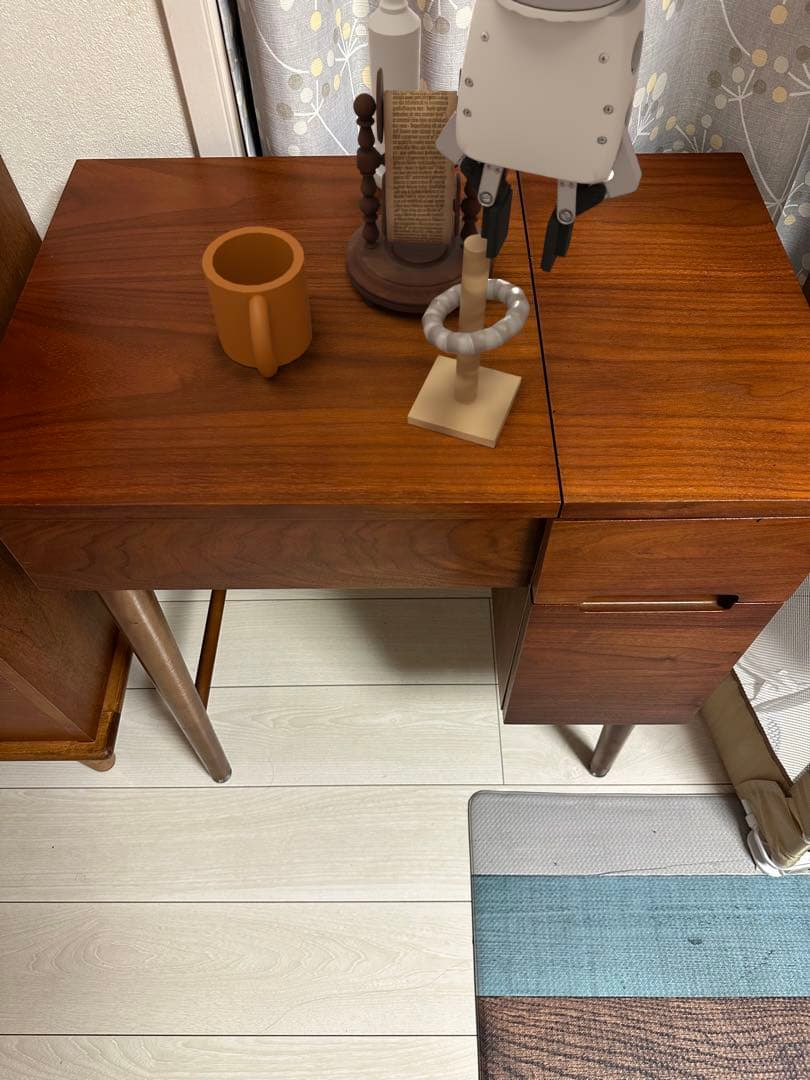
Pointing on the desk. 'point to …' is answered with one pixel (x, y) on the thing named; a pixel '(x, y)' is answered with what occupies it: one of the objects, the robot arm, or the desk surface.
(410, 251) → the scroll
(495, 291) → the ring
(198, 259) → the desk surface
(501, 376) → the wooden peg stand
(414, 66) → the bottle
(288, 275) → the mug
